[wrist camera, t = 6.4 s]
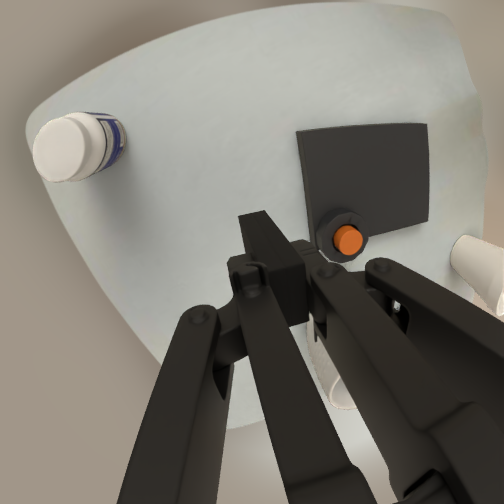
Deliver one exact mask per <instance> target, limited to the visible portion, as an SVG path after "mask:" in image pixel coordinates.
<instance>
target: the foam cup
mask: <svg viewBox="0 0 504 504" xmlns="http://www.w3.org/2000/svg"><path fill="white" fill-rule="evenodd" d="M450 263H451V266H452V267H453V268H454V270H455V271H456V272H457V273H458V274H459V275H460V276H461V277H462V278H463V279H464V280H465V281H466V282H467V283H468V284H469V285H470V286H471V287H472V288H473V289H474V290H475V292H476V293H477V294H478V295H479V296H480V297H481V298H482V299H483V300H484V302H485V303H486V304H487V307H488V308H489V309H491V310H492V311H493V312H494V313H495V314H496V315H498V316H502V315H503V314H504V249H503V248H500V247H498V246H495V245H493V244H490V243H488V242H485V241H483V240H480V239H478V238H475V237H472V236H469V235H463V236H462V237H460V238H459V239H458V240H457V242H456V243H455V245H454V246H453V249H452V252H451V256H450Z"/></svg>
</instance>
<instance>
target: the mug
mask: <svg viewBox="0 0 504 504" xmlns="http://www.w3.org/2000/svg"><path fill="white" fill-rule="evenodd" d="M309 319H310V321H308V322H307V328H306V329H307V343H308V350H309V354H310V357H311V360H312V363H313V365H314V369H315V371H316V373H317V376H318V379H319V380H320V382H321V385H322V388H323V389H324V391H325V393H326V396H327V398H328V399H329V402H330V403H331V404H332V405H333V406H334V407H336V408H338V409H344V410H345V409H346V410H350V409H357V407H356V405H355V403H354V401H353V399H352V397H351V395H350V394H349V392H348V390H347V388H346V386H345V384H344V382H343V381H342V379H341V377H340V375H339V373H338V371H337V369H336V368H335V366H334V364H333V362H332V360H331V358H330V357H329V355H328V353H327V351H326V349H325V347H324V346H323V344H322V342H321V340H320V338H319V337H318V336H317V342H315V341H314V327H313V317H312V315H311V313H310V314H309Z"/></svg>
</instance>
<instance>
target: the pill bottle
mask: <svg viewBox="0 0 504 504" xmlns="http://www.w3.org/2000/svg"><path fill="white" fill-rule="evenodd" d="M125 144H126V134H125V130H124V127H123V125H122V124H121V122H120V121H119V120H118V119H117V118H115V117H114V116H111V115H108V114H102V113H89V112H74V113H70V114H67V115H65V116H63V117H62V118H57V119H54V120H51V121H49V122H48V123H46V124H45V125H44V126H43V127H42V128H41V130H40V131H39V132H38V134H37V136H36V139H35V141H34V145H33V160H34V164H35V167H36V169H37V171H38V172H39V174H40V175H41V176H42V177H43V178H45V179H46V180H48V181H51V182H63V181H79V180H83V179H85V178H87V177H89V176H91V175H93V174H95V173H97V172H99V171H101V170H103V169H105V168H107V167H109V166H111V165H113V164H114V163H115V162H116V161H117V160H118V159H119V158H120V156H121V155H122V153H123V151H124V148H125Z"/></svg>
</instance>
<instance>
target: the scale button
mask: <svg viewBox="0 0 504 504" xmlns="http://www.w3.org/2000/svg"><path fill="white" fill-rule="evenodd" d="M362 242H363V238H362V235H361V233H360V232H359V231H357V230H356V229H355V228H353V227H352V226H349V225H345V226H342V227H340V228H339V229H338V230H337V231H336V233H335V235H334V244H335V246H336V247H337V248H338V249H339V250H340V251H341V252H342V253H343V254H345V255H352V254H354V253H356V252H357V251H358V250H359V249H360V248H361V246H362Z"/></svg>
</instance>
